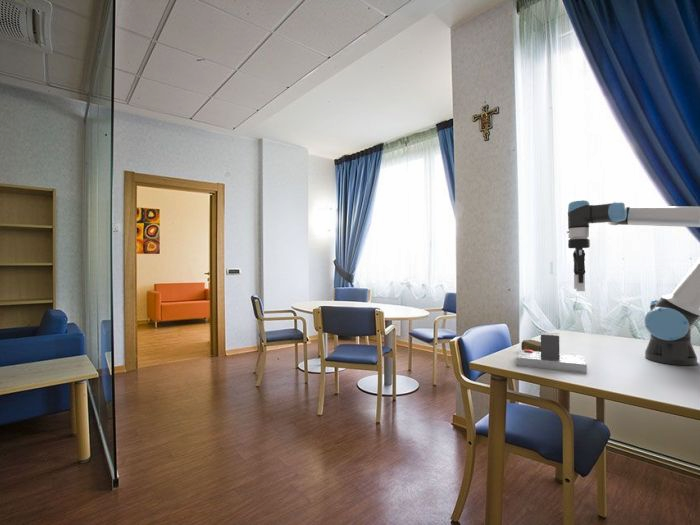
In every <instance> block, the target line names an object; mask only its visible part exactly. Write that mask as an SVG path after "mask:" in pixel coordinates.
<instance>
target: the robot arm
mask: <svg viewBox="0 0 700 525" xmlns="http://www.w3.org/2000/svg"><path fill="white" fill-rule="evenodd" d="M567 222H568V223H567V226H568V228H567V229H568V230H567V231H566V234H568V240H567V242H568V246H567V247H568V249H575V250H573V253H572V257H573V289H574V290H576V292H586V285H585V284H586V282H585V281H586V280H585V279H586V278H585V274H586V267H585V265H586V264H585V260H586V259H585V257H586V252H585V250H584V249H589V248H590V246H591V245H590V244H591V242H590V241H591V240H590V237H591V233H590V232H591V226H590V224H602V223H603V224H604V223H606V224H607V225H610V226H611V225H612V226H618V225H622V226H624V225H625V226H627V225H628V226H629V225H630V226H650V227H651V226H655V227H662V226H663V227H680V228H681V227H682V228H683V227H687V228H688V227H689V228H700V206H658V205H657V206H655V205H654V206H647V205H646V206H637V205H635V206H634V205H633V206H627V204H626V202H624V201H617V202H616V201H613V202H607V203H605V202H604V203H597V204H590V201H589V200H586V199H583V200H573V201H570V202H569V203H568V206H567ZM660 297H661V298H660V299H653V300H651V301H650V303H649V304H650V305H649V308H650V309H649V310H650V311H648V312H647V313H646V314H645V317H644V325H645V328H646V330H647V331H648V333H650V340H649V342H648V343H647V346H646V348H645V350H644V351H645V352H644V358H646V359H647V360H650V361H652V362H657V363H662V364H666V365H667V364H668V365H674V366H675V365H676V366H695V365H698V356H697V354H696V352H695V349H694V346H693V344H692V342H691V341H692V340H691V338H692V336H691V335H692V334H691V332H692V331H691V328H692V326H693V325H694V324H695V322H696V321H697V320H698V319H699V318H700V257H699V258H698V259H697V261H696V262H695V264H694V265H693V266H692V267H691V268H690V270H689V271H687V273H686V274H685V276H684V277H682V279H681V281H680V282H679V283H678V285H676V287H675V288H674V290H673V291H672V292H671V293H670V294H666V295H665V294H664V295H662V296H660Z"/></svg>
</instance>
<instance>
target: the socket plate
mask: <svg viewBox="0 0 700 525" xmlns="http://www.w3.org/2000/svg"><path fill="white" fill-rule="evenodd" d="M559 354H560V359H553V358H543V357H541V352H538V351H533V350H527V349H524V350H522V349H518V352H517V355H516V366H518V365H519V367H528V368H537V369H545V370H553V371H554V370H555V371H561V372H563V371H564V372H570V373H571V372H573V373H581V374H588V372H587V371H588V370H587V369H588V368H587V367H588V365H587V362H586V359H585V357H584V355H577V354H567V353H566V354H565V353H559Z"/></svg>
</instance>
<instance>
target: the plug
mask: <svg viewBox="0 0 700 525" xmlns="http://www.w3.org/2000/svg"><path fill="white" fill-rule="evenodd" d="M540 342H541V357H543V358H553V359H560V354H561V353H560V333H556V332H546V331H544V332H543V331H542V332H540Z"/></svg>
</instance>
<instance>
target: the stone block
mask: <svg viewBox="0 0 700 525" xmlns="http://www.w3.org/2000/svg"><path fill="white" fill-rule="evenodd" d="M520 346H521V349H520V350H524V349H527V350H533V351H538V352H541V341H538V340H535V339H524V340H522V341H521V345H520Z"/></svg>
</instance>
